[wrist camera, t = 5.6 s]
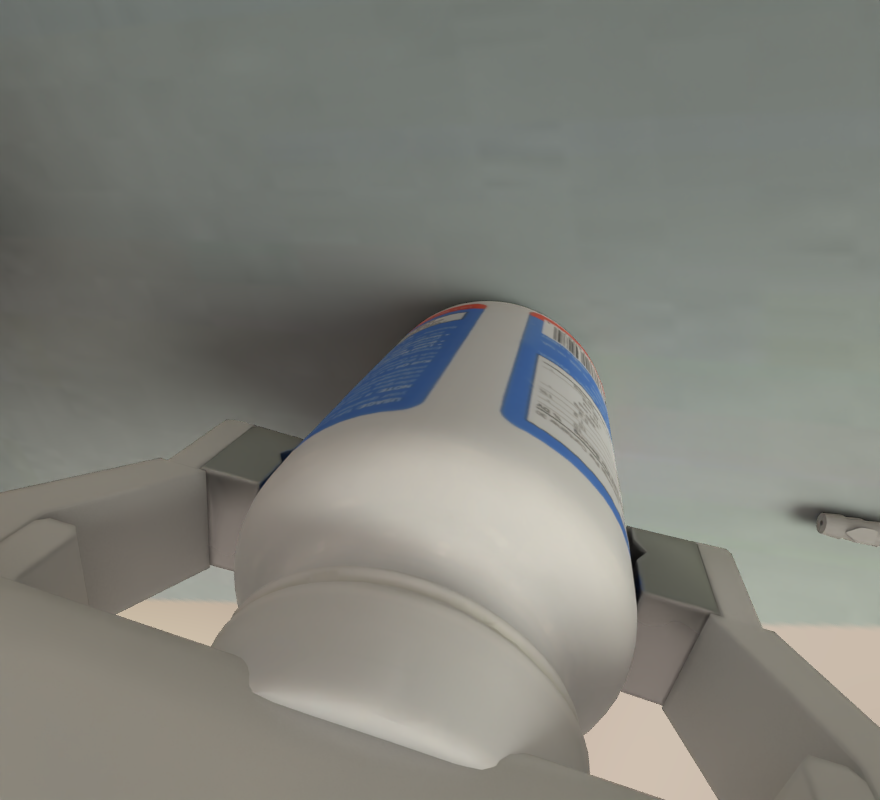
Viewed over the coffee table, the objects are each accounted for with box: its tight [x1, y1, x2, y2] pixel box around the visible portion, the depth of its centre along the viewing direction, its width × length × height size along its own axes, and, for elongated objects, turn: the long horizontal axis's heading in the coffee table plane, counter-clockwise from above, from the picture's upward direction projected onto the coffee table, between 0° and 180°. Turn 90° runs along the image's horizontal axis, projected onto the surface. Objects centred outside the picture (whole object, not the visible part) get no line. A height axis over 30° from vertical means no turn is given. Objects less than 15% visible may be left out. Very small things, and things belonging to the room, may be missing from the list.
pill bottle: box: [211, 301, 637, 774], centre depth 9 cm, size 6×5×10 cm
